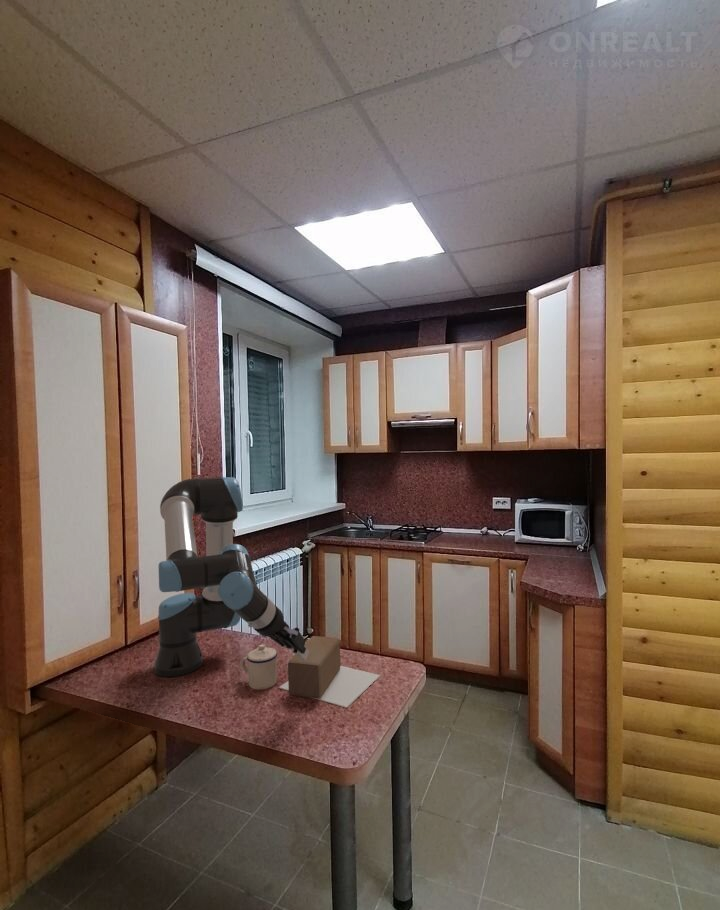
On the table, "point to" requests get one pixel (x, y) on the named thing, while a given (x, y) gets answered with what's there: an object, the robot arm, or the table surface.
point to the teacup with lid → (261, 667)
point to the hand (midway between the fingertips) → (305, 655)
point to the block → (314, 667)
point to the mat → (345, 686)
